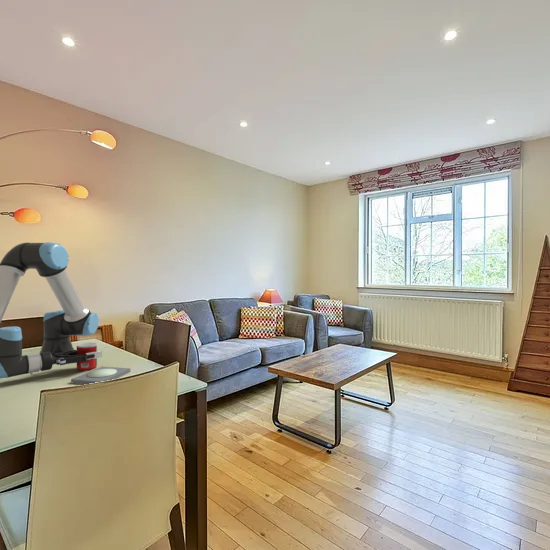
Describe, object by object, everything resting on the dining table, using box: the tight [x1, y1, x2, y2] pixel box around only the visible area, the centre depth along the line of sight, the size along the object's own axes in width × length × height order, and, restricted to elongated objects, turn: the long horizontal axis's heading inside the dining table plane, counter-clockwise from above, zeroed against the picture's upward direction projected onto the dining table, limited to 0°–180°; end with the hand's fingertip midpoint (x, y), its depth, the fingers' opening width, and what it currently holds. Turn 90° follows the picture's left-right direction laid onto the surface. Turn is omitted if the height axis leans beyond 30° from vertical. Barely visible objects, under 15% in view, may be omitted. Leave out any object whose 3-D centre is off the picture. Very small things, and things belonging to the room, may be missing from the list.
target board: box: [70, 365, 131, 385], centre depth 142 cm, size 18×14×2 cm
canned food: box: [76, 342, 98, 372], centre depth 154 cm, size 8×8×11 cm
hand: (98, 352), depth 157 cm, fingers closed on canned food, 8 cm apart
